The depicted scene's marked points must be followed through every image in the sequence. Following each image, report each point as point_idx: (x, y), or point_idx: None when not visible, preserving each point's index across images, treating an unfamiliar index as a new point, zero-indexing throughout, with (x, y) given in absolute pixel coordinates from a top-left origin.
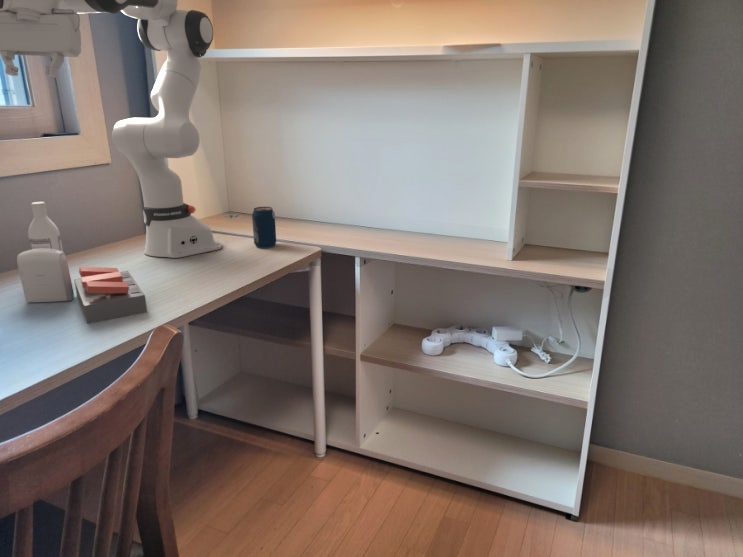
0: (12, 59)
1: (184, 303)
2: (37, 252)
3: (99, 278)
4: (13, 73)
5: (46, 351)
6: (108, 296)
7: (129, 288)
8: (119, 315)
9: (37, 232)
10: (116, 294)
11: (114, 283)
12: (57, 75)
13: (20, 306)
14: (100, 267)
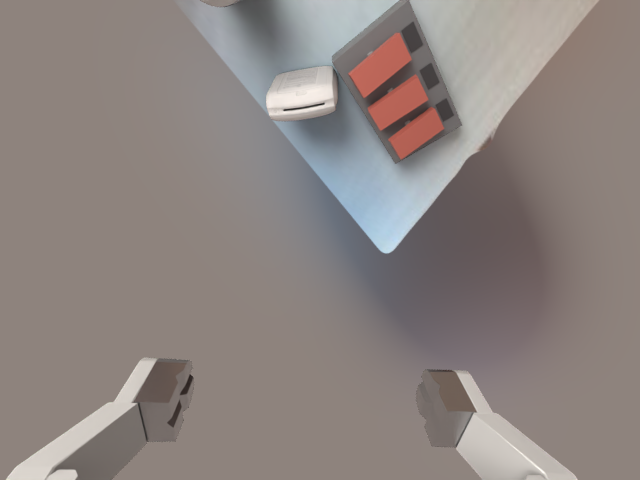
0: (61, 472)
1: (503, 80)
2: (301, 117)
3: (398, 113)
4: (191, 383)
5: (380, 208)
6: None
7: (435, 100)
8: None
9: (221, 4)
10: None
11: (423, 125)
12: (471, 379)
13: None
14: (376, 52)
